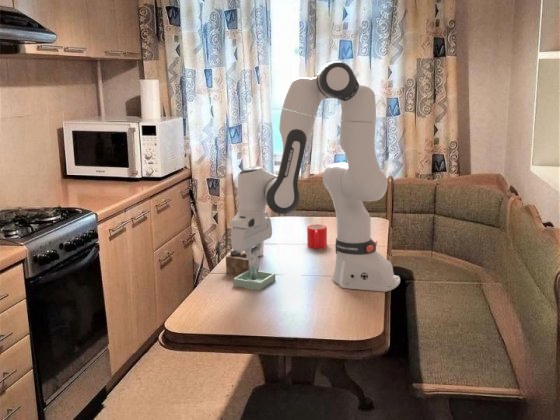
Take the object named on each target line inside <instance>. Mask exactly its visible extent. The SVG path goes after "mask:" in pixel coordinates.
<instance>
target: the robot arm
mask: <svg viewBox="0 0 560 420" xmlns="http://www.w3.org/2000/svg"><path fill="white" fill-rule="evenodd" d="M324 99H336V100H338V102H339V103H340V108H341V115H340V125H339V146H340V148H341V150H342V151H343V152H344V154H345V157H346V161H347V162H344V161H343V162H342V161H341V162H334V163H331V164H329V165H328V166H327V167H326V168H325V169H324V171H323V174H322V183H323V185H324V187H325V188H326V190H327V192H328V193H329V195H330V197H331V201H332V202H333V207H334V211H335V216H336V238H335V245H334V246H335V247H334V248H335V254H336V258H335V265H334V270H333V274H332V276H331V279H332V282H334V283H336V284H337V285H339V287H340V288H341V289H352V290H361V291H371V292H383V293H385V292H389V291H392V290H394V289H396V288H397V287H399V285H400V283H401V277H400V275H396V274H395V273H394V267H393V264H392V262H390V260H388V259H387V258H386V257H385V256H383V255H382V254H381V253H380V252H379V251H377V245H378V240H376V241H374V240H373V239H372V237H371V235H372V234H371V232H372V231H371V230H372V229H371V228H372V227H371V226H372V225H371V223H372V222H371V220H372V219H371V218H372V217H371V214H370V213H369V211H368V210H367V209H366V207H365V205H364V202H376V201H379V200H381V199H382V198H383V197H384V196H385V194H386V193H387V190H388V187H389V186H388V179H387V177H386V175H385V173H384V172H383V171H382V169H381V167H380V165H379V162H378V158H377V154H376V147H375V142H376V141H375V140H376V122H377V104H376V95H375V92H374V90H373V89H372V88H370V87H369V86H366V85H363V84H362V85H361V84H359V82H358V80H357V78H356V75H355V72H354V71H353V69H352V67H350V66H349V65H348V64H347V63H345V62H343V61H339V60H337V61H336V60H335V61H331V62H328V63H325V65H323V66H322V67H321V68H320V70H319V71H318V72H317V73H316V74H315V75H314V77H306V76H305V77H303V76H302V77H301V76H300V77H297V78H295V79H294V80H293V81H292V82H291V83H290V86H289V88H288V90H287V92H286V95H285V99H284V102H283V105H282V108H281V112H280V118H279V126H278V127H279V133H280V136H281V139H282V140H281V141H282V156H281V160H280V165H279V168H278V173H277V174H274V173H272V172H270V171H267V170H265V169H264V168H263V167H261V166H249V167H246V168H244V169H242V170H241V171H240V172H239V174H238V177H237V198H238V200H239V201H238V202H239V203H238V206H237V207H238V211H237V212H236V214H235V215H234V217H232V218H231V219H230V221H229V224H230V227H231V230H230V238H231V239H230V242H231V248H232V250H234V251H239V252H245V253H246V258H247V260H251V259H253V254H252V253H251V250H252V247H253V246H255V245H256V246H255V247H258V257H260V256H259V255H260V250H261V247H262V242H263V241H264V242H265V241H267V240H269V239H271V238H272V235H273V227H272V220H271V218H270V215H269V212H267V211H266V206H268V207H269V209H270V210H271V211H272V212H274V213H275V214H278V215H279V214H280V215H286V214H289V213H291V212H292V211H294V210H295V209H296V207H297V206H298V204H299V203H300V202H299V200H300V193H299V187H298V185H299V184H298V183H299V182H298V181H299V175H300V171H301V168H302V167H301V166H302V162H303V158H304V153H305V149H306V147H307V145H308V141H309V138H310V135H311V133H312V130H313V128H314V126H315V122H316V118H317V114H318V110H319V107H320V105H321V103H322V101H323V100H324Z"/></svg>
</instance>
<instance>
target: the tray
mask: <svg viewBox="0 0 560 420" xmlns="http://www.w3.org/2000/svg"><path fill="white" fill-rule="evenodd" d="M258 277H259V278H258V279H257V280H250V279H249V270H248V271H246V272H244V273H242V274H241V275H237V276H235V277H234V278H233V279H232V280H233V282H232V283H233V286H234V287H238V288H239V287H240V288H244V289H249V290H256V291H262V290H263V289H265V288H266V287H268V286H269V285H271V284H273V283H274V282H275V281H276V273H274V272H268V271H261V270H258Z"/></svg>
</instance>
